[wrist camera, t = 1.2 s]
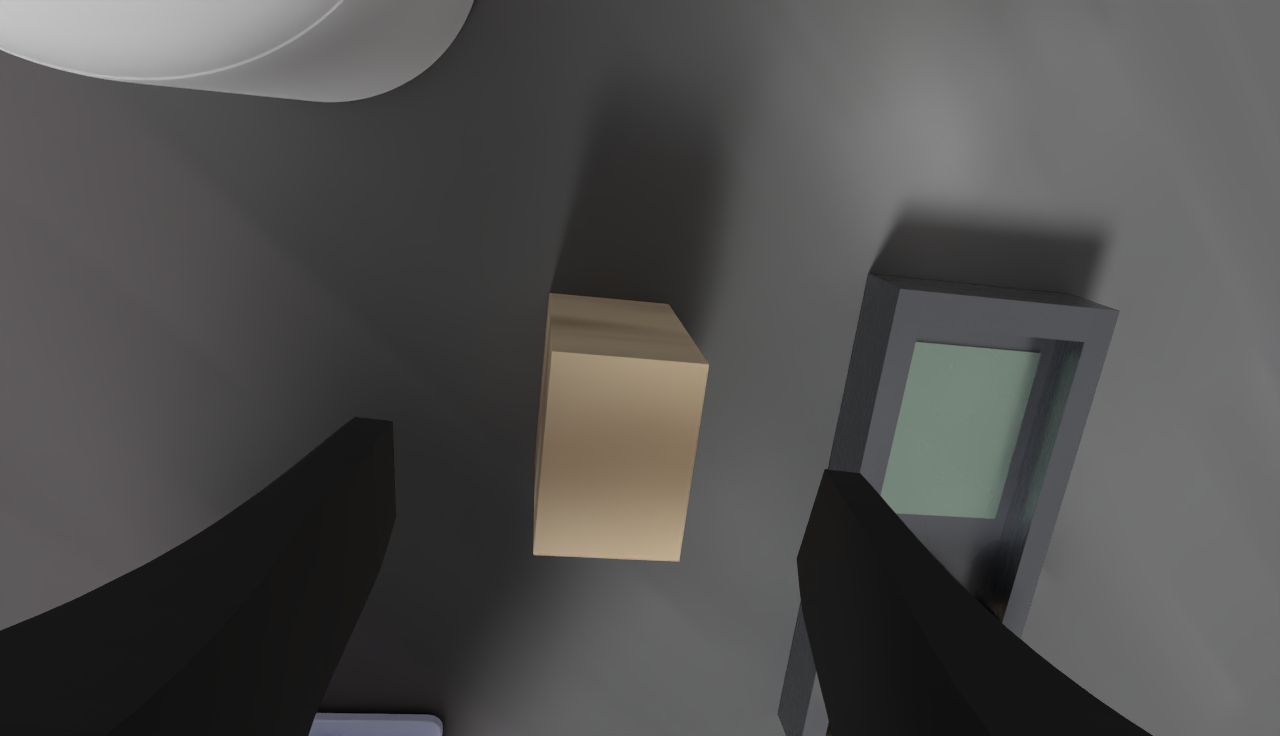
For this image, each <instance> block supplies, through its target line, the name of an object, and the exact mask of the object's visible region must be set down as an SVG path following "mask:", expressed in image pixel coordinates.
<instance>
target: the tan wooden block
mask: <svg viewBox="0 0 1280 736" xmlns="http://www.w3.org/2000/svg"><path fill="white" fill-rule="evenodd" d="M708 368H709V363H708V362H707V360H706V359H705V357H704V356H703V354H702V353H701V351H700V350H699V349H698V347H697V346H696V344H695V343H694V341H693V340H692V338H691V337H690V335H689V334H688V332H687V331H686V329H685V328H684V326H683V325H682V323H681V322H680V320H679V319H678V317H677V316H676V314H675V313H674V311H673V310H672V308H671V307H670V305H669V304H663V303H652V302H642V301H631V300H620V299H609V298H599V297H588V296H577V295H566V294H556V293H549V303H548V314H547V325H546V336H545V348H544V359H543V370H542V381H541V392H540V404H539V415H538V426H537V437H536V448H535V486H534V540H533V555H545V556H567V557H589V558H612V559H634V560H656V561H679V559H680V552H681V546H682V539H683V533H684V526H685V520H686V513H687V506H688V500H689V493H690V487H691V480H692V474H693V467H694V460H695V454H696V447H697V441H698V434H699V428H700V421H701V414H702V408H703V401H704V395H705V388H706V382H707V375H708Z"/></svg>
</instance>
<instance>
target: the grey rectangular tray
mask: <svg viewBox="0 0 1280 736" xmlns="http://www.w3.org/2000/svg"><path fill="white" fill-rule="evenodd" d="M1118 315H1119V311H1118V310H1116V309H1113V308H1110V307H1107V306H1104V305H1101V304H1098V303H1095V302H1092V301H1089V300H1086V299H1083V298H1080V297H1077V296H1074V295H1071V294H1062V293H1053V292H1043V291H1033V290H1024V289H1014V288H1004V287H994V286H985V285H975V284H965V283H955V282H946V281H936V280H926V279H916V278H907V277H897V276H887V275H878V274H868V279H867V284H866V288H865V293H864V298H863V303H862V308H861V313H860V318H859V322H858V327H857V332H856V337H855V342H854V347H853V352H852V356H851V361H850V366H849V371H848V376H847V381H846V386H845V390H844V395H843V400H842V405H841V410H840V415H839V420H838V424H837V429H836V434H835V439H834V444H833V449H832V454H831V458H830V463H829V468H828V470H836V471H845V472H854V473H861V474H862V476H863V477H864V478H865V479H866V480H867V481H868V482H869V483H870V484H871V485H872V487H873V488H874V489H875V490H876V491H877V492H878V493H879V495H880V496H881V497H882V498H883V499H884V500H885V502H886V503H887V504H888V505H889V506H890V507H891V508H892V510H893V511H894V512H895V513H896V514H897V515H898V517H899V518H900V519H901V520H902V521H903V522H904V523H905V525H906V526H907V527H908V528H909V529H910V530H911V531H912V533H913V534H914V535H915V536H916V537H917V538H918V539H919V540H920V542H921V543H922V544H923V545H924V546H925V547H926V548H927V549H928V550H929V551H930V553H931V554H932V555H933V556H934V557H935V558H936V559H937V560H938V561H939V562H940V563H941V564H942V565H943V566H944V567H945V568H946V570H947V571H948V572H949V573H950V574H951V575H952V576H953V577H954V578H955V579H956V580H957V581H958V582H959V583H960V584H961V585H962V586H963V587H964V588H965V589H966V590H967V591H968V592H969V593H970V594H971V595H972V596H973V597H974V598H975V599H976V600H977V601H979V602H980V603H981V604H982V605H983V606H984V607H985V608H986V609H987V610H988V611H989V612H990V613H991V614H992V615H993V616H995V617H996V618H997V619H998V620H999V621H1000V622H1001V623H1002V624H1003V625H1005V626H1006V627H1007V628H1008V629H1009V630H1010V631H1012V632H1013V633H1014V634H1015V635H1016V636H1017V637H1019V638H1020V639H1021V635H1022V632H1023V629H1024V625H1025V622H1026V619H1027V615H1028V612H1029V609H1030V606H1031V602H1032V599H1033V596H1034V592H1035V589H1036V586H1037V582H1038V579H1039V576H1040V572H1041V569H1042V566H1043V563H1044V559H1045V556H1046V553H1047V549H1048V546H1049V543H1050V539H1051V536H1052V533H1053V529H1054V526H1055V523H1056V520H1057V516H1058V513H1059V510H1060V506H1061V503H1062V500H1063V496H1064V493H1065V490H1066V487H1067V483H1068V480H1069V477H1070V473H1071V470H1072V467H1073V463H1074V460H1075V457H1076V453H1077V450H1078V447H1079V444H1080V440H1081V437H1082V434H1083V430H1084V427H1085V424H1086V420H1087V417H1088V414H1089V410H1090V407H1091V404H1092V401H1093V397H1094V394H1095V391H1096V387H1097V384H1098V381H1099V377H1100V374H1101V371H1102V368H1103V364H1104V361H1105V358H1106V354H1107V351H1108V348H1109V344H1110V341H1111V338H1112V334H1113V331H1114V328H1115V325H1116V321H1117V318H1118ZM778 716H779V719H780V721H781V724H782V726H783V729H784V731H785V734H786V736H832V732H831V728H830V724H829V720H828V716H827V712H826V708H825V704H824V700H823V696H822V692H821V688H820V684H819V680H818V676H817V672H816V668H815V664H814V659H813V655H812V651H811V647H810V643H809V639H808V634H807V630H806V626H805V622H804V617H803V612H802V604H800V609H799V614H798V619H797V623H796V628H795V633H794V638H793V643H792V648H791V653H790V657H789V662H788V667H787V672H786V677H785V682H784V687H783V691H782V696H781V701H780V706H779V711H778Z"/></svg>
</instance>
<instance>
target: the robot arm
mask: <svg viewBox="0 0 1280 736" xmlns="http://www.w3.org/2000/svg"><path fill="white" fill-rule="evenodd" d="M395 518H396V505H395V477H394V449H393V421H386V420H377V419H368V418H359V417H354V418H353V419H352V420H350V421H349V422H348V423H346V424H345V425H344V426H343V427H341V428H340V429H339V430H337V431H336V432H335V433H334V434H333V435H331V436H330V437H329V438H328V439H326V440H325V441H324V442H323V443H322V444H320V445H319V446H318V447H317V448H315V449H314V450H313V451H312V452H310V453H309V454H308V455H307V456H305V457H304V458H303V459H302V460H300V461H299V462H298V463H297V464H295V465H294V466H293V467H292V468H290V469H289V470H288V471H286V472H285V473H284V474H282V475H281V476H280V477H279V478H277V479H276V480H275V481H273V482H272V483H271V484H269V485H268V486H267V487H266V488H264V489H263V490H262V491H260V492H259V493H258V494H256V495H255V496H253V497H252V498H251V499H249V500H248V501H246V502H245V503H243V504H242V505H240V506H239V507H238V508H236V509H235V510H233V511H232V512H230V513H229V514H228V515H226V516H225V517H223V518H222V519H220V520H219V521H217V522H216V523H214V524H213V525H211V526H210V527H208V528H207V529H205V530H204V531H202V532H200V533H199V534H197V535H195V536H194V537H192V538H191V539H189V540H187V541H186V542H184V543H182V544H180V545H179V546H177V547H175V548H173V549H172V550H170V551H168V552H166V553H165V554H163V555H161V556H159V557H158V558H156V559H154V560H152V561H150V562H149V563H147V564H145V565H143V566H141V567H139V568H137V569H135V570H133V571H131V572H129V573H127V574H125V575H123V576H121V577H119V578H117V579H115V580H113V581H111V582H109V583H107V584H105V585H103V586H101V587H99V588H97V589H95V590H93V591H91V592H89V593H87V594H85V595H83V596H81V597H79V598H76V599H74V600H72V601H70V602H68V603H65V604H63V605H61V606H58V607H56V608H54V609H52V610H49V611H47V612H45V613H42V614H40V615H38V616H35V617H33V618H30V619H28V620H25V621H23V622H21V623H18V624H16V625H13V626H11V627H8V628H6V629H3V630H1V631H0V736H442V734H443V725H442V722H441V720H440V719H439V718H437V717H436V716H434V715H425V714H352V713H317V710H318V708H319V705H320V703H321V700H322V698H323V696H324V693H325V691H326V688H327V686H328V684H329V682H330V680H331V677H332V675H333V673H334V671H335V669H336V666H337V664H338V662H339V660H340V658H341V655H342V653H343V651H344V649H345V647H346V644H347V642H348V640H349V638H350V636H351V633H352V631H353V629H354V627H355V625H356V622H357V620H358V618H359V616H360V614H361V611H362V609H363V607H364V605H365V603H366V600H367V598H368V596H369V594H370V591H371V589H372V587H373V585H374V582H375V580H376V578H377V575H378V573H379V571H380V568H381V565H382V561H383V558H384V555H385V552H386V549H387V545H388V542H389V539H390V535H391V532H392V528H393V525H394V522H395ZM797 566H798V576H799V587H800V596H801V604H802V612H803V617H804V622H805V626H806V630H807V634H808V639H809V643H810V647H811V651H812V655H813V659H814V664H815V668H816V672H817V676H818V680H819V684H820V688H821V692H822V696H823V700H824V704H825V708H826V712H827V716H828V720H829V724H830V728H831V732H832V736H1153V735H1151V734H1150V733H1148V732H1146V731H1145V730H1143V729H1142V728H1140V727H1139V726H1137V725H1136V724H1134V723H1132V722H1131V721H1129V720H1128V719H1126V718H1125V717H1123V716H1122V715H1120V714H1119V713H1117V712H1116V711H1115V710H1113V709H1112V708H1110V707H1109V706H1107V705H1106V704H1104V703H1103V702H1101V701H1100V700H1098V699H1097V698H1096V697H1094V696H1093V695H1092V694H1090V693H1089V692H1088V691H1086V690H1085V689H1083V688H1082V687H1081V686H1079V685H1078V684H1077V683H1075V682H1074V681H1073V680H1071V679H1070V678H1069V677H1067V676H1066V675H1065V674H1063V673H1062V672H1061V671H1059V670H1058V669H1056V668H1055V667H1054V666H1053V665H1051V664H1050V663H1049V662H1048V661H1046V660H1045V659H1044V658H1043V657H1041V656H1040V655H1039V654H1038V653H1036V652H1035V651H1034V650H1033V649H1032V648H1030V647H1029V646H1028V645H1027V644H1026V643H1024V642H1023V641H1022V640H1021V639H1020V638H1019V637H1017V636H1016V635H1015V634H1014V633H1013V632H1012V631H1010V630H1009V629H1008V628H1007V627H1006V626H1005V625H1003V624H1002V623H1001V622H1000V621H999V620H998V619H997V618H996V617H995V616H993V615H992V614H991V613H990V612H989V611H988V610H987V609H986V608H985V607H984V606H983V605H982V604H981V603H980V602H979V601H977V600H976V599H975V598H974V597H973V596H972V595H971V594H970V593H969V592H968V591H967V590H966V589H965V588H964V587H963V586H962V585H961V584H960V583H959V582H958V581H957V580H956V579H955V578H954V577H953V576H952V575H951V574H950V573H949V572H948V571H947V570H946V568H945V567H944V566H943V565H942V564H941V563H940V562H939V561H938V560H937V559H936V558H935V557H934V556H933V555H932V554H931V553H930V551H929V550H928V549H927V548H926V547H925V546H924V545H923V544H922V543H921V542H920V540H919V539H918V538H917V537H916V536H915V535H914V534H913V533H912V531H911V530H910V529H909V528H908V527H907V526H906V525H905V523H904V522H903V521H902V520H901V519H900V518H899V517H898V515H897V514H896V513H895V512H894V511H893V510H892V508H891V507H890V506H889V505H888V504H887V503H886V502H885V500H884V499H883V498H882V497H881V496H880V495H879V493H878V492H877V491H876V490H875V489H874V488H873V487H872V485H871V484H870V483H869V482H868V481H867V480H866V479H865V478H864V477H863V476H862V474H861V473H854V472H845V471H836V470H827V469H825V470H824V473H823V477H822V480H821V483H820V486H819V489H818V493H817V496H816V499H815V502H814V505H813V509H812V512H811V515H810V518H809V521H808V524H807V528H806V531H805V534H804V537H803V540H802V544H801V547H800V550H799V553H798V556H797Z"/></svg>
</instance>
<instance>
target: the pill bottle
mask: <svg viewBox="0 0 1280 736" xmlns="http://www.w3.org/2000/svg"><path fill="white" fill-rule="evenodd" d="M473 2H474V0H0V50H2V51H5V52H7V53H10V54H12V55H15V56H18V57H20V58H23V59H26V60H29V61H32V62H35V63H38V64H41V65H45V66H48V67H52V68H55V69H59V70H63V71H67V72H71V73H76V74H80V75H85V76H90V77H95V78H101V79H107V80H114V81H122V82H130V83H139V84H149V85H159V86H168V87H178V88H188V89H198V90H208V91H217V92H227V93H237V94H247V95H257V96H266V97H276V98H286V99H296V100H305V101H315V102H346V101H354V100H360V99H365V98H369V97H373V96H376V95H379V94H382V93H385V92H388V91H390V90H393V89H395V88H397V87H399V86H401V85H403V84H405V83H407V82H408V81H410V80H412V79H413V78H415V77H417V76H418V75H419V74H421V73H422V72H424V71H425V70H426V69H427V68H429V67H430V66H431V65H432V64H433V63H434V62H435V61H436V60H437V59H438V58H439V57H440V56H441V55H442V54H443V53H444V52H445V51H446V50H447V48H448V47H449V46H450V45H451V43H452V42H453V41H454V39H455V38H456V36H457V35H458V33H459V31H460V30H461V28H462V26H463V24H464V23H465V21H466V19H467V17H468V14H469V12H470V10H471V7H472V5H473Z"/></svg>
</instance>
